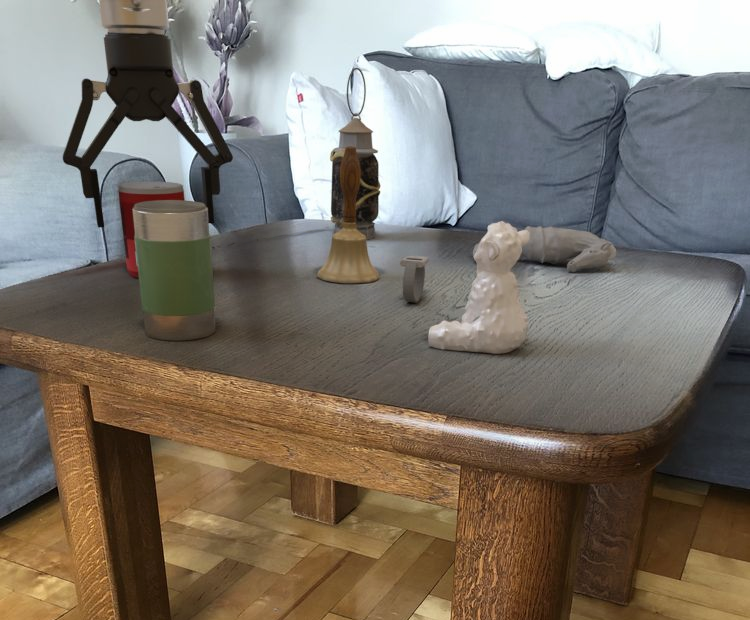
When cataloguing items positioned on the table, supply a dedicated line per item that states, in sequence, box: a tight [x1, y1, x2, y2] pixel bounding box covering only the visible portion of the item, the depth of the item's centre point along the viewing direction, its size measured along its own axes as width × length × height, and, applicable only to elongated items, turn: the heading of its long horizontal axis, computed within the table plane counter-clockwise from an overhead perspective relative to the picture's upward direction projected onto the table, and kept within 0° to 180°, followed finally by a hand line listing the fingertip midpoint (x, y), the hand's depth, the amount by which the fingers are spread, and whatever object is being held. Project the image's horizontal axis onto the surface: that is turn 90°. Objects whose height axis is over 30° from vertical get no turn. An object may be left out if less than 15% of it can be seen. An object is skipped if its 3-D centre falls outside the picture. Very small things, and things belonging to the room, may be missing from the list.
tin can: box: [133, 200, 216, 342], centre depth 81 cm, size 7×7×12 cm
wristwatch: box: [399, 255, 430, 304], centre depth 96 cm, size 6×3×5 cm, turn 164°
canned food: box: [117, 181, 186, 279], centre depth 105 cm, size 8×8×11 cm
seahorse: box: [472, 225, 617, 273], centre depth 118 cm, size 5×12×20 cm
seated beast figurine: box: [427, 220, 530, 355], centre depth 79 cm, size 10×9×12 cm
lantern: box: [329, 67, 381, 241], centre depth 131 cm, size 9×8×25 cm
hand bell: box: [316, 146, 381, 285], centre depth 105 cm, size 8×8×16 cm
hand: (156, 224), depth 104 cm, fingers open, 13 cm apart
